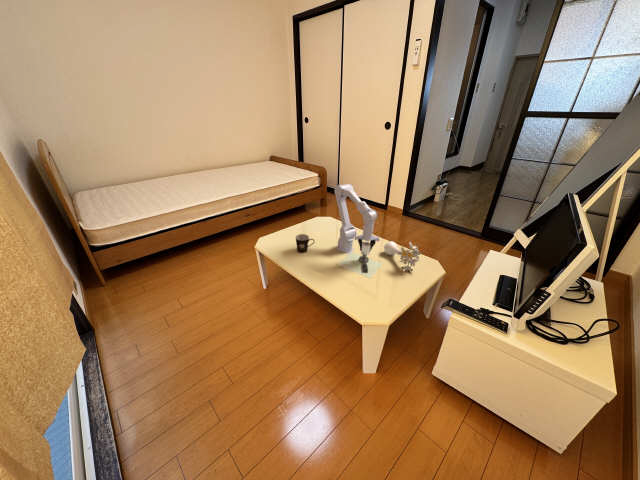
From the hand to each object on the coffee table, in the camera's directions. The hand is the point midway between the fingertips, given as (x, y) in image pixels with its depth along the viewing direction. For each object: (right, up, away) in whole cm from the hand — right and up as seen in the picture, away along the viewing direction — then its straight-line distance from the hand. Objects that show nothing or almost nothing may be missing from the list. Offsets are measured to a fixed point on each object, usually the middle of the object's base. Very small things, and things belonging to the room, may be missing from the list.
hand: (365, 250), depth 151 cm
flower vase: (+22, -8, +5) cm, 24 cm away
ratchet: (-1, -9, 0) cm, 9 cm away
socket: (0, -1, +1) cm, 1 cm away
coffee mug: (-38, -1, +12) cm, 40 cm away
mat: (-3, -9, 0) cm, 10 cm away
